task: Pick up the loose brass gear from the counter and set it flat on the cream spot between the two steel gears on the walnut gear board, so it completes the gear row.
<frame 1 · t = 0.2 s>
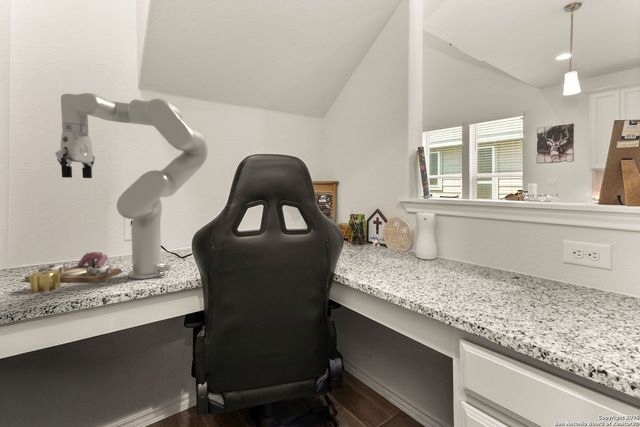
hand: (77, 177, 116), 36 cm above the table, tool pointing down, fingers open, 9 cm apart
brass gear: (45, 288, 103), on the table
video game controller: (93, 266, 131), on the table
gear board: (75, 276, 116), on the table
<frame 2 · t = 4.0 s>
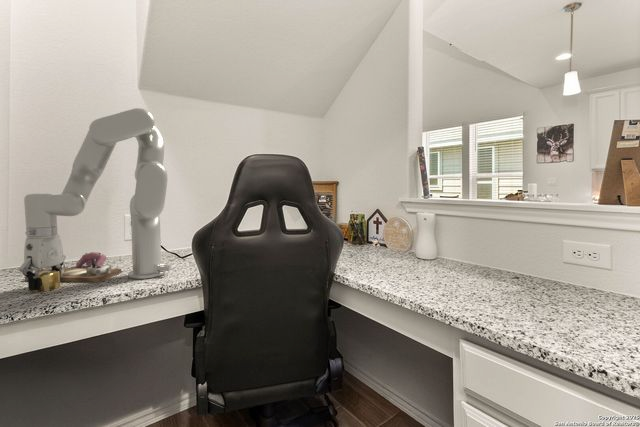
hand: (45, 285, 103), 1 cm above the table, tool pointing down, fingers closed on brass gear, 7 cm apart
brass gear: (45, 288, 103), on the table, touching gripper
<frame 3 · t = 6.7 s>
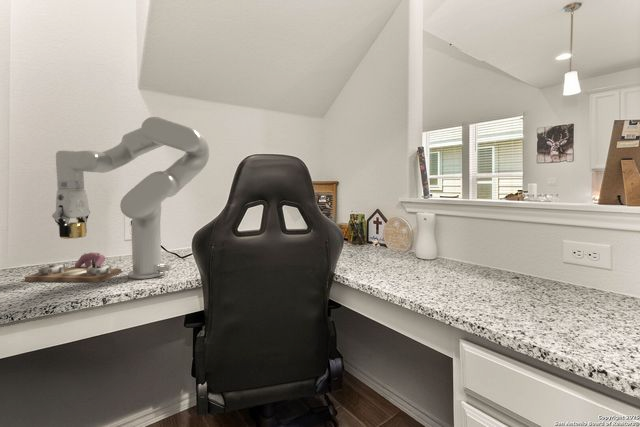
hand: (73, 234, 115), 16 cm above the table, tool pointing down, fingers closed on brass gear, 7 cm apart
brass gear: (73, 236, 115), point 15 cm above the table, touching gripper
when the fingers open (4 cm above the table, at t = 9.8 s): brass gear drops 1 cm, resting on gear board.
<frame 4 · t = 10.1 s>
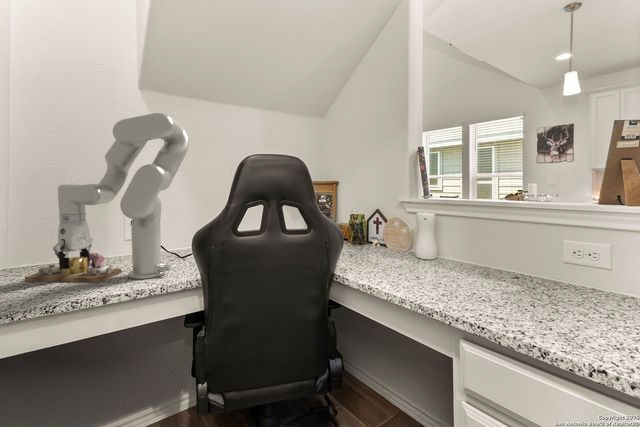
hand: (75, 265, 116), 4 cm above the table, tool pointing down, fingers open, 9 cm apart
brass gear: (75, 272, 116), point 2 cm above the table, touching gear board
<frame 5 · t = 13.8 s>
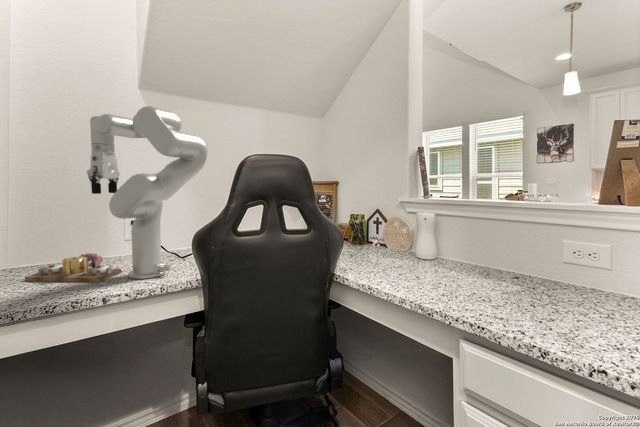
hand: (105, 193, 126), 30 cm above the table, tool pointing down, fingers open, 9 cm apart
at the end: brass gear 0.0 cm off-centre on the gear board, point 1.7 cm above the gear board's base; brass gear tilted 0°; the gripper is holding nothing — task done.
